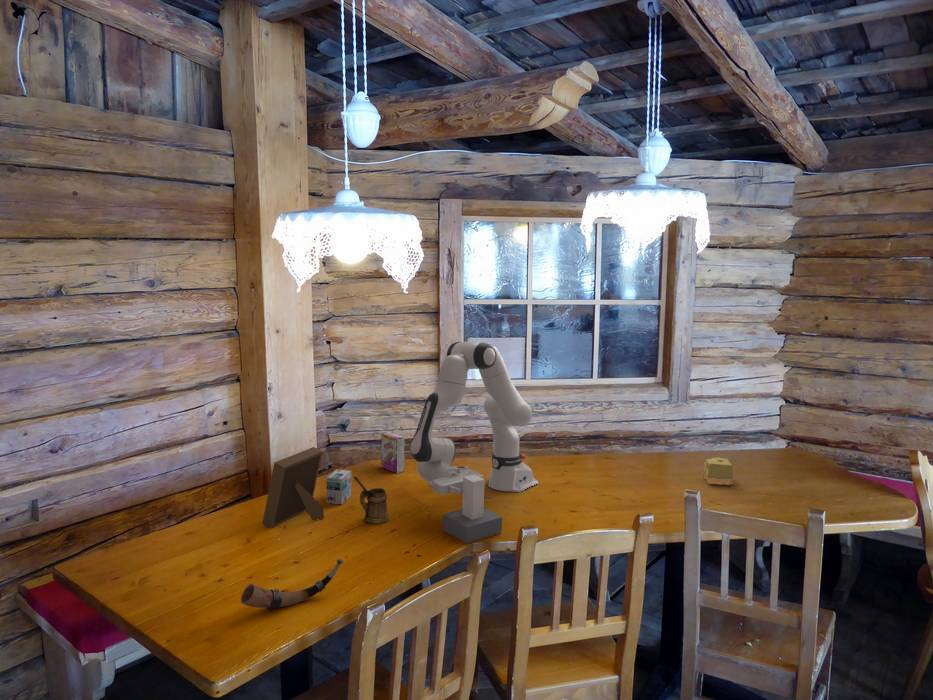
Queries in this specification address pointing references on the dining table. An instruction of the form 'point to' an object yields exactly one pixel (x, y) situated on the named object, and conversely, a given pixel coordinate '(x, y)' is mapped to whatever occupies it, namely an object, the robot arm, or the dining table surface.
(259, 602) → the drinking horn
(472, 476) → the carton
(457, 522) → the podium
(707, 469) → the cheese
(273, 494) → the photo frame
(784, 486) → the dining table surface
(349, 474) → the light bulb box
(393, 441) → the candy bar box
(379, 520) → the wooden mug
